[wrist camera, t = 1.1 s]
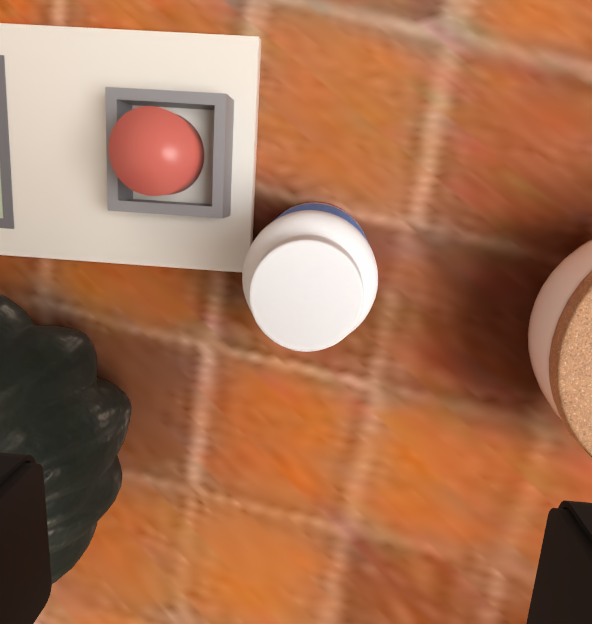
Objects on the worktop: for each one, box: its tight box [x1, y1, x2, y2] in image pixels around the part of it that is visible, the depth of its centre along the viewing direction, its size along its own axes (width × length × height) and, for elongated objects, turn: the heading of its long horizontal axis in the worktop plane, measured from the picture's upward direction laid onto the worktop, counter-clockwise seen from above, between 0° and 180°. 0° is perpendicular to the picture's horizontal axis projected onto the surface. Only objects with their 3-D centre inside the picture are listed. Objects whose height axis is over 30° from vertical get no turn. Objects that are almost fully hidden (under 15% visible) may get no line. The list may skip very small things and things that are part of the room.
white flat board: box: [0, 23, 261, 273], centre depth 27 cm, size 11×21×3 cm, turn 87°
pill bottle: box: [242, 202, 378, 352], centre depth 24 cm, size 6×5×10 cm
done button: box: [108, 106, 205, 196], centre depth 24 cm, size 4×4×2 cm
